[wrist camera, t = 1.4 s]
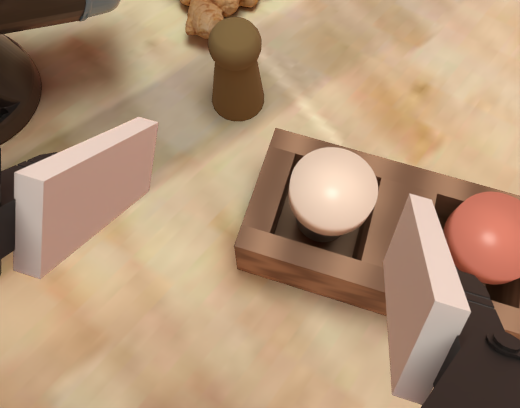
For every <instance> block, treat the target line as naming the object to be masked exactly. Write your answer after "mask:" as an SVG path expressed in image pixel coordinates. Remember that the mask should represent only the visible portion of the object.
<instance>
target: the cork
mask: <svg viewBox="0 0 520 408" xmlns="http://www.w3.org/2000/svg"><path fill="white" fill-rule="evenodd" d="M208 48H209V52H210V54H211V57H212V59H213V60H214V61H215V68H214V81H213V95H212V103H213V106H214V109H215V110H216V111H217V113H218V114H219V115H220V116H222V117H224V118H225V119H228V120H231V121H244V120H248V119H251V118H252V117H254V116H255V115H257V114H258V113H259V111H260V110H261V109H262V106H263V104H264V93H263V88H262V83H261V78H260V73H259V67H258V62H257V59H258V57H259V54H260V52H261V36H260V34H259V31H258V29H257V28H256V27H255V26H254V25H253V24H252V23H251V22H250V21H248V20H246V19H244V18H240V17H229V18H225V19H223V20H221V21H219V22H218V23H217V24H216V25H215V26H214V27H213V28H212V30H211V32H210V35H209V38H208Z"/></svg>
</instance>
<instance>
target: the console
mask: <svg viewBox="0 0 520 408" xmlns="http://www.w3.org/2000/svg"><path fill="white" fill-rule="evenodd" d="M326 147H337V148H343V149H346V150H349V151H351V152H354V153H355V154H357V155H359V156H360V157H361V158H363V159H364V160H365V161H366V162H367V163H368V164H369V166H370V167H371V168H372V170H373V172H374V174H375V176H376V179H377V183H378V197H377V201H376V204H375V206H374V208H373V210H372V211H371V213H370V214H369V216H368V217H367V219H366V220H365V222H364V223H363V224H362V225H361V226H360V227H358V228H357V229H355V230H354V231H352V232H350V233H347V234H344V235H342V236H341V237H339V238H338V239H336V240H334V241H330V242H317V241H314V240H311V239H309V238H308V237H306V236H305V235H304V234H303V233H302V232H301V231H300V229H299V227H298V225H297V223H296V217H295V215H294V214H293V212H292V210H291V207H290V204H289V199H288V191H289V184H290V178H291V174H292V172H293V169H294V167H295V166H296V164H297V163H298V162H299V160H300V159H301V158H303V157H304V156H305V155H306V154H308V153H310V152H312V151H314V150H317V149H320V148H326ZM482 192H500V193H504V194H507V195H510V196H512V197H515V198H517V199H518V200H520V196H518V195H515V194H511V193H507V192H504V191H500V190H497V189H493V188H490V187H486V186H482V185H479V184H475V183H472V182H468V181H464V180H461V179H457V178H454V177H450V176H446V175H443V174H439V173H436V172H432V171H429V170H425V169H421V168H418V167H414V166H411V165H407V164H403V163H400V162H396V161H393V160H389V159H385V158H382V157H378V156H375V155H371V154H368V153H364V152H360V151H357V150H353V149H350V148H346V147H342V146H339V145H335V144H332V143H328V142H324V141H321V140H317V139H314V138H310V137H307V136H303V135H299V134H296V133H292V132H289V131H285V130H281V129H278V128H275V131H274V134H273V137H272V140H271V142H270V145H269V148H268V151H267V154H266V157H265V160H264V162H263V165H262V168H261V171H260V174H259V177H258V180H257V182H256V185H255V188H254V191H253V194H252V197H251V200H250V202H249V205H248V208H247V211H246V214H245V217H244V220H243V222H242V225H241V228H240V231H239V234H238V237H237V240H236V242H235V245H234V248H235V255H236V261H237V268H238V269H239V270H242V271H246V272H249V273H252V274H255V275H258V276H262V277H265V278H268V279H271V280H274V281H278V282H281V283H284V284H287V285H290V286H293V287H297V288H300V289H303V290H306V291H309V292H313V293H316V294H319V295H322V296H325V297H329V298H332V299H335V300H338V301H341V302H344V303H348V304H351V305H354V306H357V307H360V308H364V309H367V310H370V311H373V312H376V313H379V314H383V315H386V316H387V312H386V296H385V281H384V266H383V261H384V258H385V255H386V253H387V250H388V248H389V245H390V242H391V240H392V237H393V235H394V232H395V230H396V227H397V224H398V222H399V219H400V217H401V214H402V211H403V209H404V206H405V204H406V201H407V198H408V196H409V193H410V194H413V195H417V196H420V197H424V198H427V199H431V200H432V202H433V205H434V207H435V210H436V213H437V216H438V219H439V222H440V225H441V227H442V230H443V233H444V227H445V223H446V221H447V219H448V217H449V216H450V214H451V213H452V212H453V211H454V210H455V209H456V208H457V207H458V206H459V205H460V204H462V203H463V202H464V201H465V200H466V199H468V198H469V197H471V196H473V195H475V194H478V193H482ZM482 284H483V285H484V286H485V287H486V289H487V291H488V293H489V296H490V300H492V302H493V305H494V307H495V308H494V309H495V310H496V312H497V314H498V316H499V319H500V321H501V323H502V325H503V328H504V330H505V332H507V333H509V334H511V335H513V336H514V337H516V338H518V339H519V340H520V278H518V279H516V280H513V281H511V282H508V283H505V284H498V285H492V284H485V283H482Z"/></svg>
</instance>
